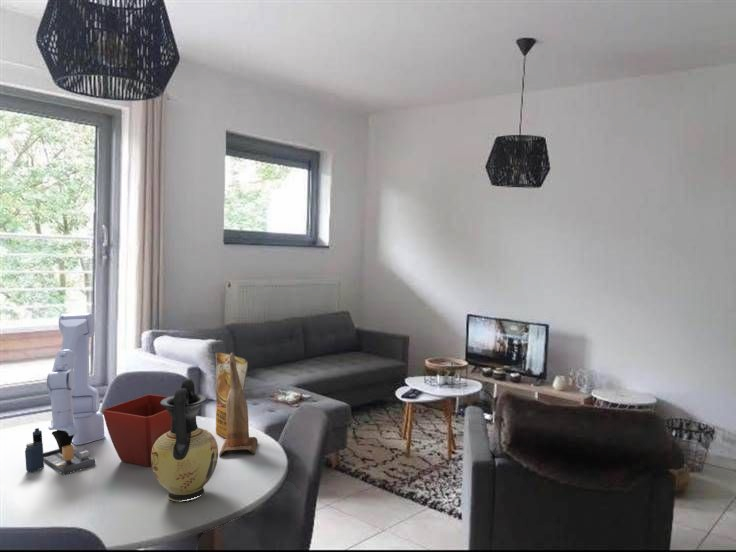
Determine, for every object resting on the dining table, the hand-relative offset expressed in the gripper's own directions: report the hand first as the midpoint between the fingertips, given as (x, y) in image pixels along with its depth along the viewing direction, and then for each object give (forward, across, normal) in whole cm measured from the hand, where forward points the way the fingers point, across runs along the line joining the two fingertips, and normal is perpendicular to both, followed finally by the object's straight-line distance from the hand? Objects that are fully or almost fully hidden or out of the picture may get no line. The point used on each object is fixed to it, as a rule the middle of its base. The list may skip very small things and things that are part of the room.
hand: (65, 453), depth 173 cm
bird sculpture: (+4, +33, +40) cm, 52 cm away
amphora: (+4, +49, +12) cm, 50 cm away
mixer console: (+3, -1, +1) cm, 4 cm away
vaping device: (+4, -3, -7) cm, 9 cm away
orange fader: (+2, +2, 0) cm, 3 cm away
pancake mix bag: (+4, +19, +47) cm, 50 cm away
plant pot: (+4, +16, +20) cm, 25 cm away
